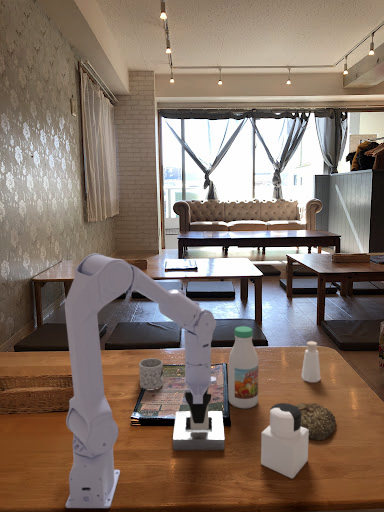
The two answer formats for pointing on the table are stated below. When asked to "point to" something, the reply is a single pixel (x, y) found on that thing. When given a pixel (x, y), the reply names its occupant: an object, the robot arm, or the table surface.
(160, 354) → the table surface
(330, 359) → the table surface
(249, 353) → the milk bottle
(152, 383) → the mug
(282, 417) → the medicine bottle
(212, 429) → the socket
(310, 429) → the bread roll
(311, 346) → the salt shaker
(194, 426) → the plug
